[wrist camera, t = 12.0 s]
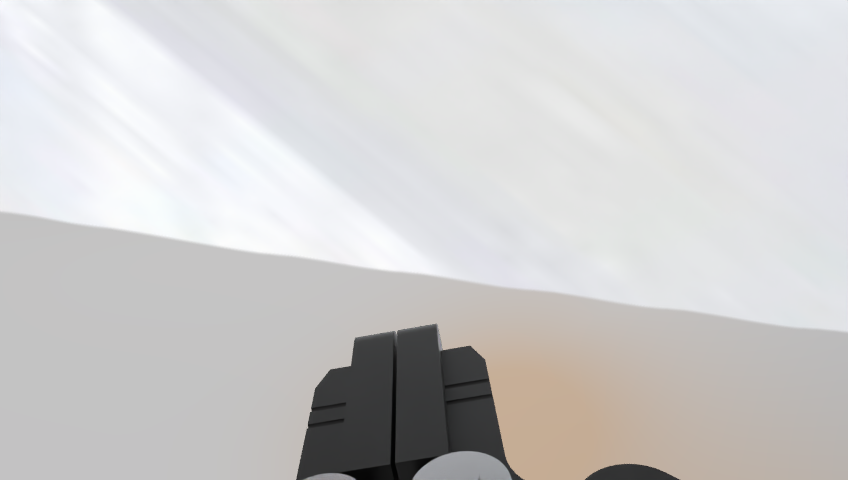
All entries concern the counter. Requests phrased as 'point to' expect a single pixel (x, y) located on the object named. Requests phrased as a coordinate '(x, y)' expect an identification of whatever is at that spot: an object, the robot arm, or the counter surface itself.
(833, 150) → the counter surface
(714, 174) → the counter surface
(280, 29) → the counter surface
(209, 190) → the counter surface
